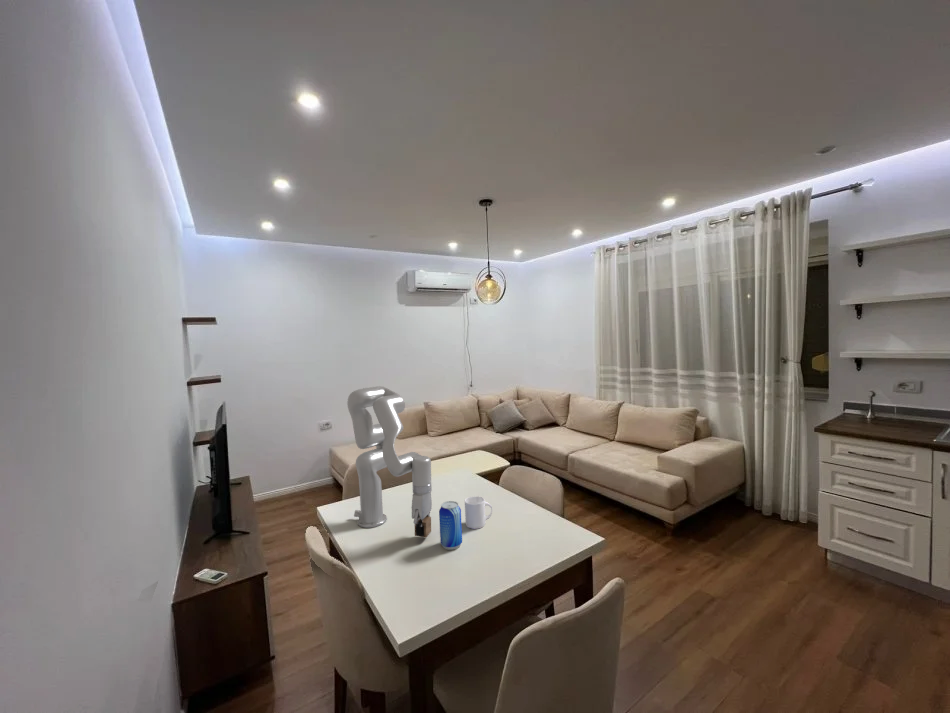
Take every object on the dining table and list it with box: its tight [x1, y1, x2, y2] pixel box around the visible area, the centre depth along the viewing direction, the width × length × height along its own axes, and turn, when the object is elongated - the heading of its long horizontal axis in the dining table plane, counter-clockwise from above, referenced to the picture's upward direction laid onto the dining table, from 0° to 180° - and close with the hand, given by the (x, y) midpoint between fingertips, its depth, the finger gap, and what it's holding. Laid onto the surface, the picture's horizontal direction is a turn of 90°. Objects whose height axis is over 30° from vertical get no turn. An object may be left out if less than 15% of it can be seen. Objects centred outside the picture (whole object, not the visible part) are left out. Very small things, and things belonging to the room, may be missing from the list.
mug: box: [464, 495, 493, 530], centre depth 166 cm, size 9×12×11 cm
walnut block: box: [414, 516, 432, 538], centre depth 155 cm, size 5×5×6 cm
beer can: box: [438, 500, 463, 551], centre depth 149 cm, size 8×8×16 cm
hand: (423, 531), depth 155 cm, fingers closed on walnut block, 5 cm apart
